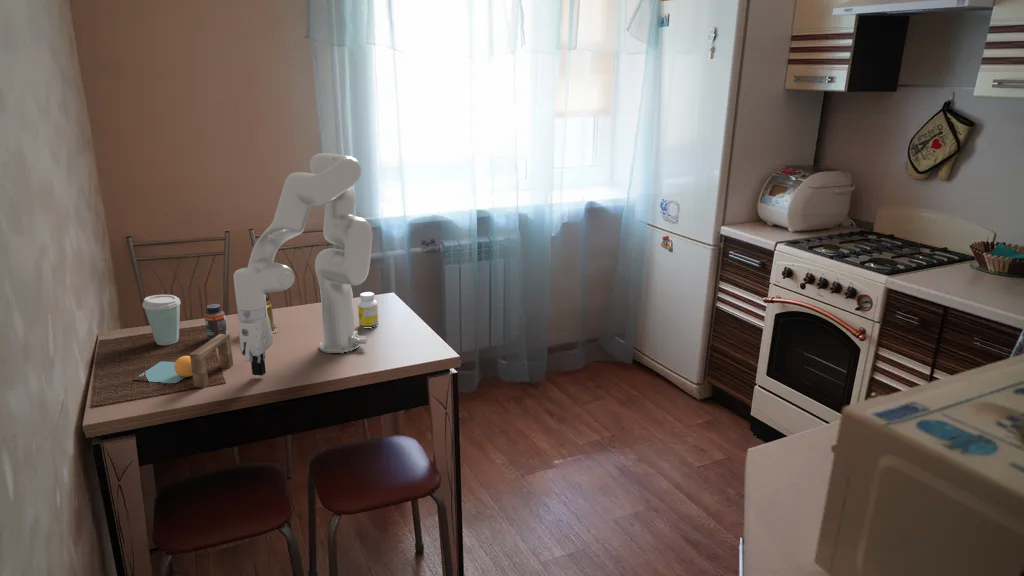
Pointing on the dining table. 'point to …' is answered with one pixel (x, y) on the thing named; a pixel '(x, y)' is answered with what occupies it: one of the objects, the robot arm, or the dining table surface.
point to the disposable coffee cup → (163, 317)
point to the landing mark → (163, 373)
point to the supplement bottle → (215, 321)
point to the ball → (183, 366)
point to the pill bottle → (368, 310)
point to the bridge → (199, 355)
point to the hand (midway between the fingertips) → (259, 373)
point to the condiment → (270, 313)
